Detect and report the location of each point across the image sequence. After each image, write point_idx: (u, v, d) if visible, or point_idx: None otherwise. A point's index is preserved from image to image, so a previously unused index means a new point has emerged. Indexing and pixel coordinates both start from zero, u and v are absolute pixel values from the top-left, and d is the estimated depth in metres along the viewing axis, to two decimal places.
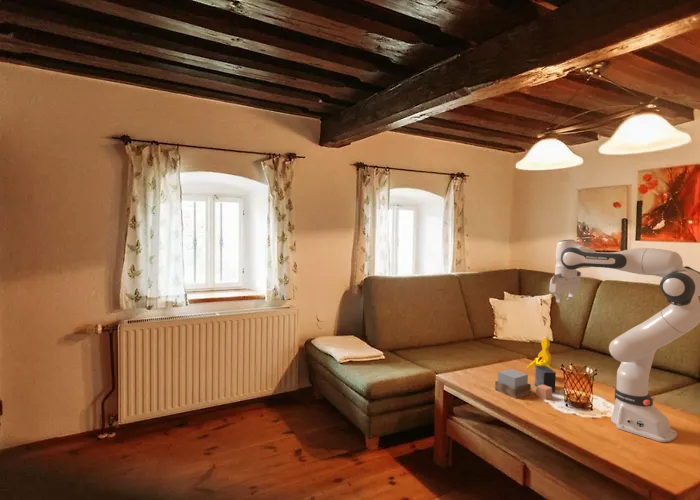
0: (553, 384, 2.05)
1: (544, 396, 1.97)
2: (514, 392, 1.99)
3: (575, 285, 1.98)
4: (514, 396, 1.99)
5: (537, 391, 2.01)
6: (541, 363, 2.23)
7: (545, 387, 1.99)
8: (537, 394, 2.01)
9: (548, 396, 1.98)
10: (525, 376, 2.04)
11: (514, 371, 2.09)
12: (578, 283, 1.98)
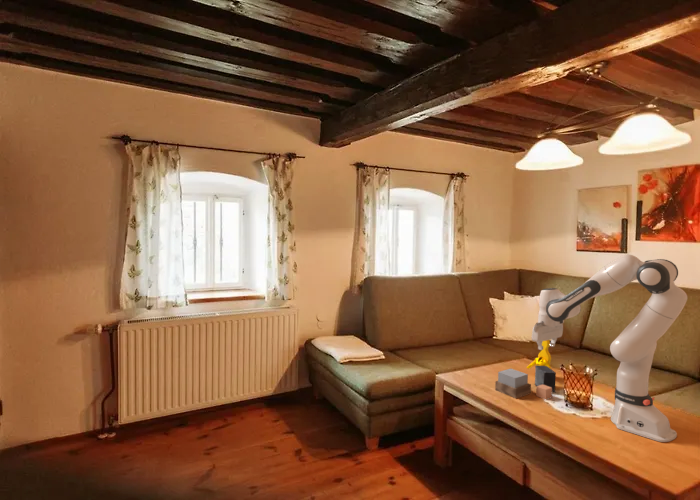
0: (553, 384, 2.05)
1: (544, 396, 1.97)
2: (514, 392, 1.99)
3: (558, 332, 2.00)
4: (514, 396, 1.99)
5: (537, 391, 2.01)
6: (541, 363, 2.23)
7: (545, 387, 1.99)
8: (537, 394, 2.01)
9: (548, 396, 1.98)
10: (525, 376, 2.04)
11: (514, 371, 2.09)
12: (561, 330, 2.01)
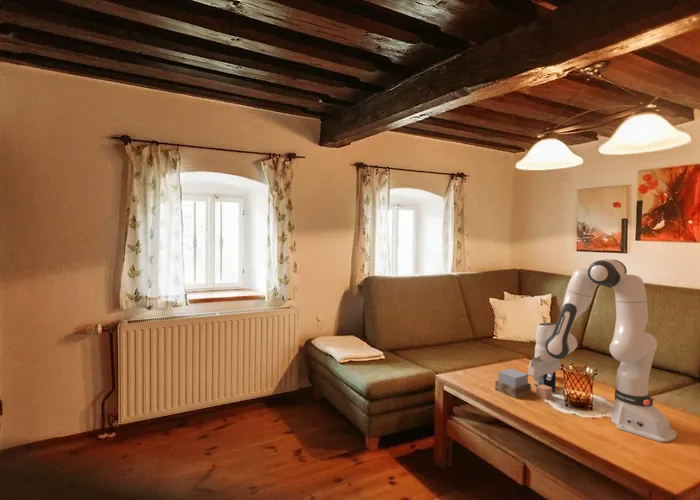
0: (553, 384, 2.05)
1: (544, 396, 1.97)
2: (514, 392, 1.99)
3: (554, 366, 2.02)
4: (514, 396, 1.99)
5: (537, 391, 2.01)
6: None
7: (545, 387, 1.99)
8: (537, 394, 2.01)
9: (548, 396, 1.98)
10: (525, 376, 2.03)
11: (514, 371, 2.09)
12: (557, 363, 2.03)
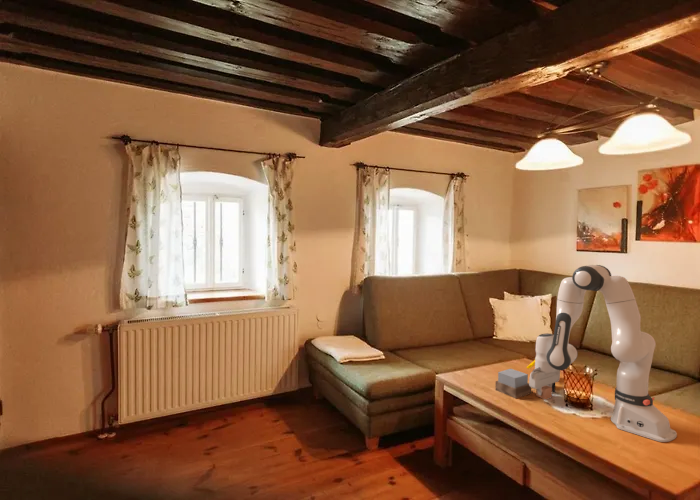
0: (553, 384, 2.05)
1: (544, 396, 1.97)
2: (514, 392, 1.99)
3: (555, 377, 2.02)
4: (514, 396, 1.99)
5: (537, 391, 2.01)
6: None
7: (545, 387, 1.99)
8: (537, 394, 2.01)
9: (548, 396, 1.98)
10: (525, 376, 2.03)
11: (514, 371, 2.09)
12: (558, 374, 2.02)
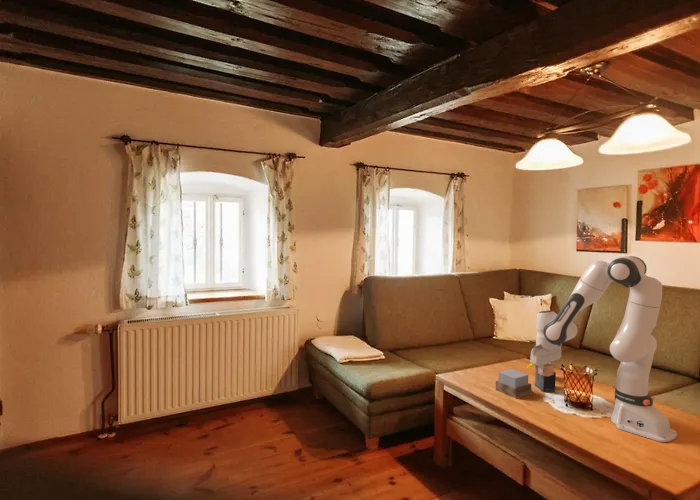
0: (553, 384, 2.05)
1: (546, 373, 1.96)
2: (514, 392, 1.99)
3: (556, 354, 2.01)
4: (514, 396, 1.99)
5: None
6: None
7: (547, 364, 1.98)
8: None
9: (550, 373, 1.97)
10: (526, 376, 2.03)
11: (515, 371, 2.08)
12: (559, 352, 2.02)
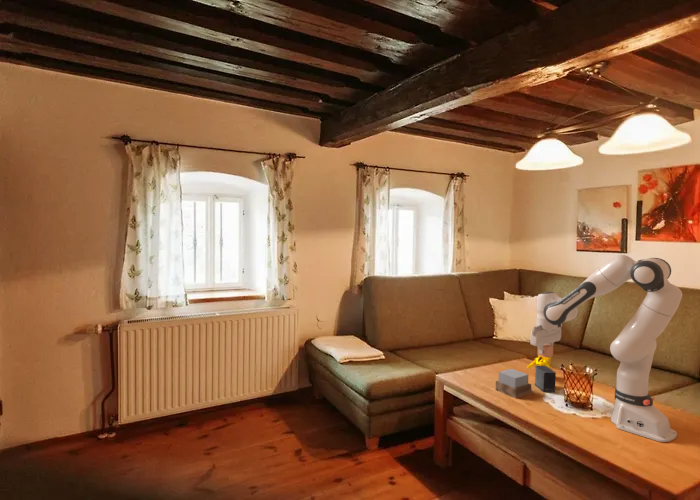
0: (553, 384, 2.05)
1: (545, 354, 1.96)
2: (514, 392, 1.99)
3: (556, 336, 2.00)
4: (514, 396, 1.99)
5: (538, 350, 1.99)
6: (541, 363, 2.23)
7: (546, 345, 1.98)
8: (538, 353, 2.00)
9: (549, 354, 1.97)
10: (526, 376, 2.03)
11: (515, 371, 2.09)
12: (559, 333, 2.01)
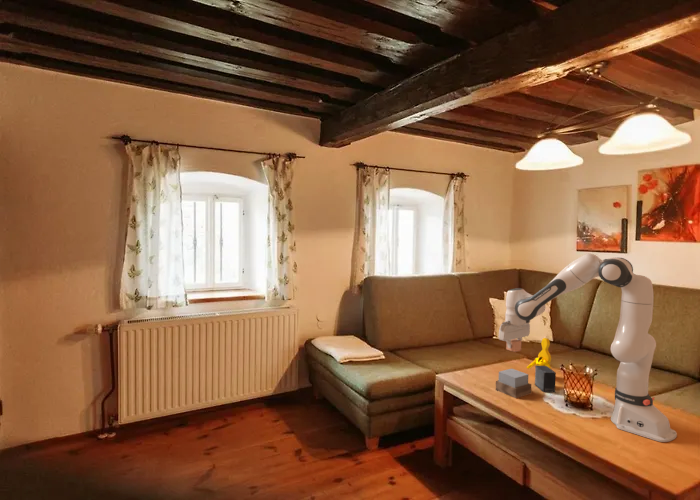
0: (553, 384, 2.05)
1: (513, 348, 2.02)
2: (514, 392, 1.99)
3: (524, 331, 2.06)
4: (514, 396, 1.99)
5: None
6: (541, 363, 2.23)
7: (515, 340, 2.04)
8: (507, 347, 2.06)
9: (517, 349, 2.03)
10: (526, 376, 2.03)
11: (515, 371, 2.09)
12: (528, 329, 2.07)
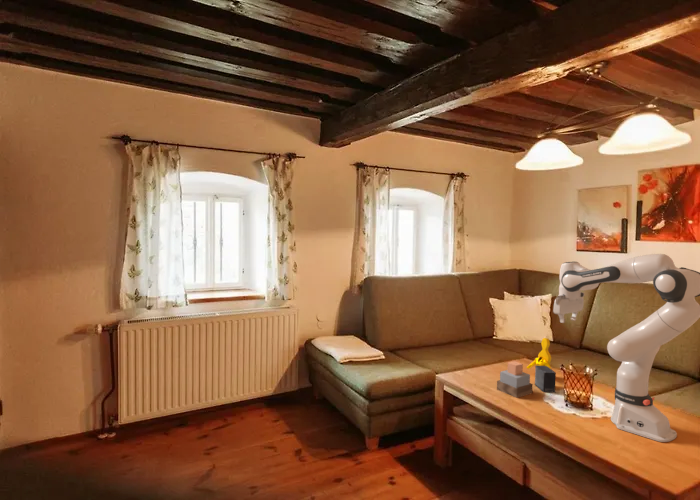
0: (553, 384, 2.05)
1: (514, 372, 2.04)
2: (515, 391, 1.99)
3: (578, 305, 2.02)
4: (515, 395, 1.99)
5: (508, 367, 2.07)
6: (541, 363, 2.23)
7: (516, 363, 2.05)
8: (508, 370, 2.07)
9: (518, 372, 2.04)
10: (527, 376, 2.03)
11: None
12: (581, 303, 2.03)
